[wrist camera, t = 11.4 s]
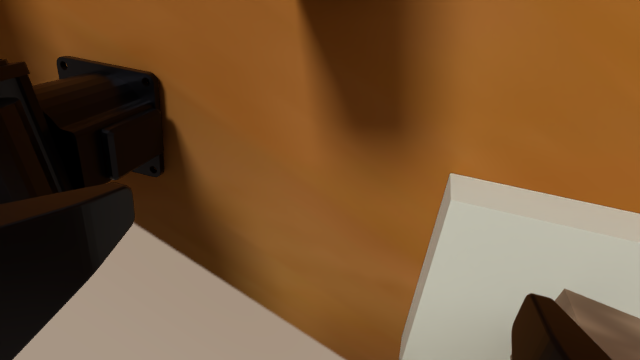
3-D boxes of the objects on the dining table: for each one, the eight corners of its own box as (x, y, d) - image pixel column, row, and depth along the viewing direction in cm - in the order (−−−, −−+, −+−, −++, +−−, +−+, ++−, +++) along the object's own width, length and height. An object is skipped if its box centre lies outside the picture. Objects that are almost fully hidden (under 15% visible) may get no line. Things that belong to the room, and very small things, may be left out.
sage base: (401, 337, 26) (397, 375, 24) (450, 173, 21) (450, 199, 18) (602, 396, 24) (621, 446, 22) (716, 230, 19) (760, 270, 16)
